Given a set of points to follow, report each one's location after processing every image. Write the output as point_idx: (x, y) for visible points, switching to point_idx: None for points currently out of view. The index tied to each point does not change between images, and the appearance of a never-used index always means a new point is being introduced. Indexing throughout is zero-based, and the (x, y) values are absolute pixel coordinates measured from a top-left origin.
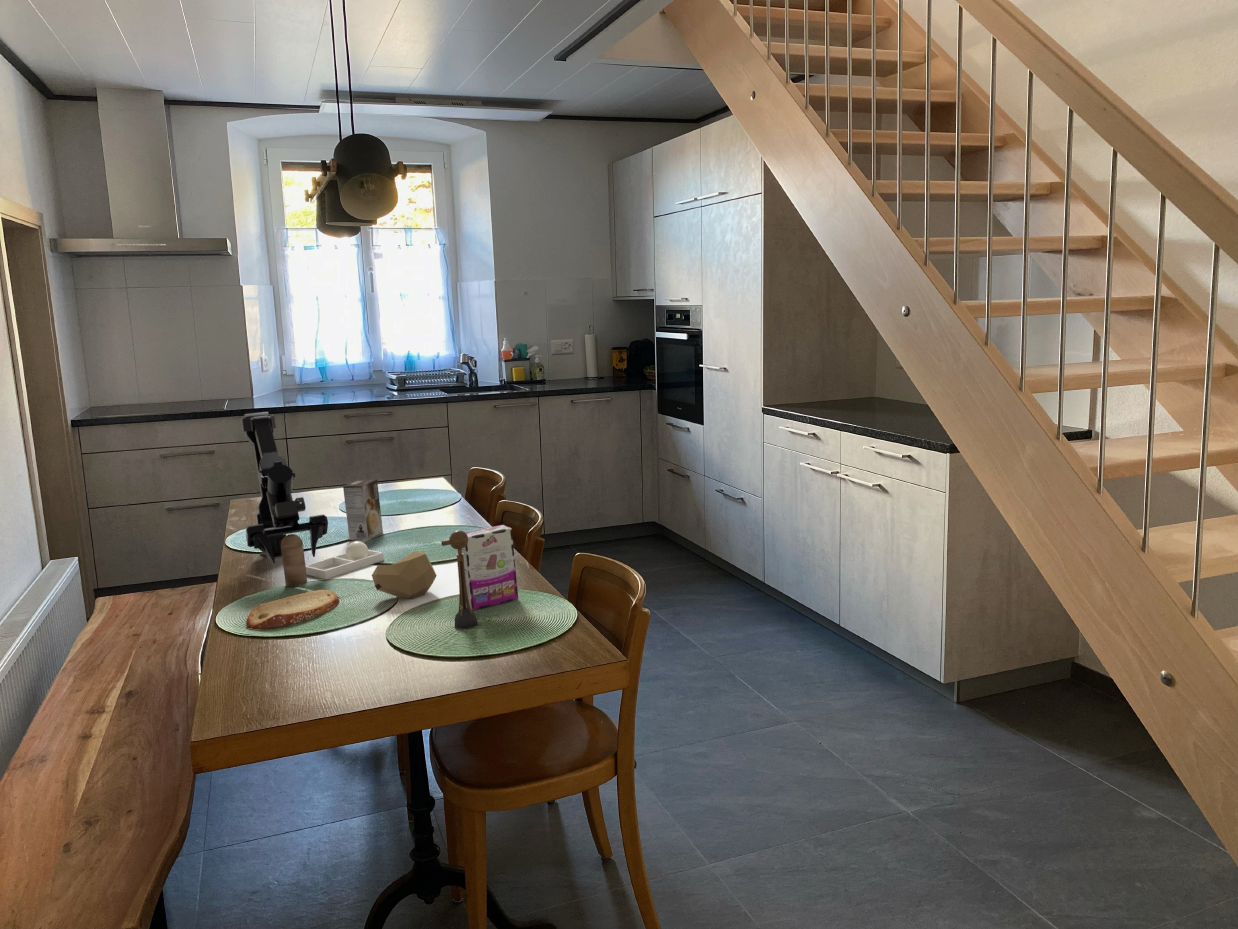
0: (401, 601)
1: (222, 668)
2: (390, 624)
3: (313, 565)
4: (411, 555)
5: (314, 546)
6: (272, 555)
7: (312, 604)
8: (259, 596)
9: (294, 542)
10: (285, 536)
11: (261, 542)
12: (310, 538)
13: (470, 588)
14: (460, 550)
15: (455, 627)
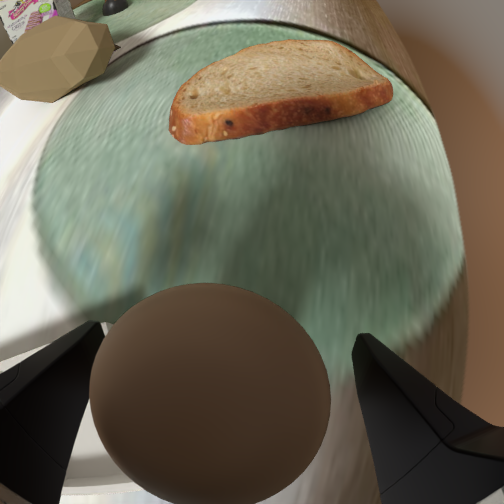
0: None
1: (383, 23)
2: (169, 16)
3: (128, 479)
4: (35, 29)
5: (55, 345)
6: (384, 358)
7: (250, 67)
8: (384, 297)
9: (188, 285)
10: (275, 432)
11: (494, 429)
12: (44, 487)
13: (72, 10)
14: None
15: (127, 6)
